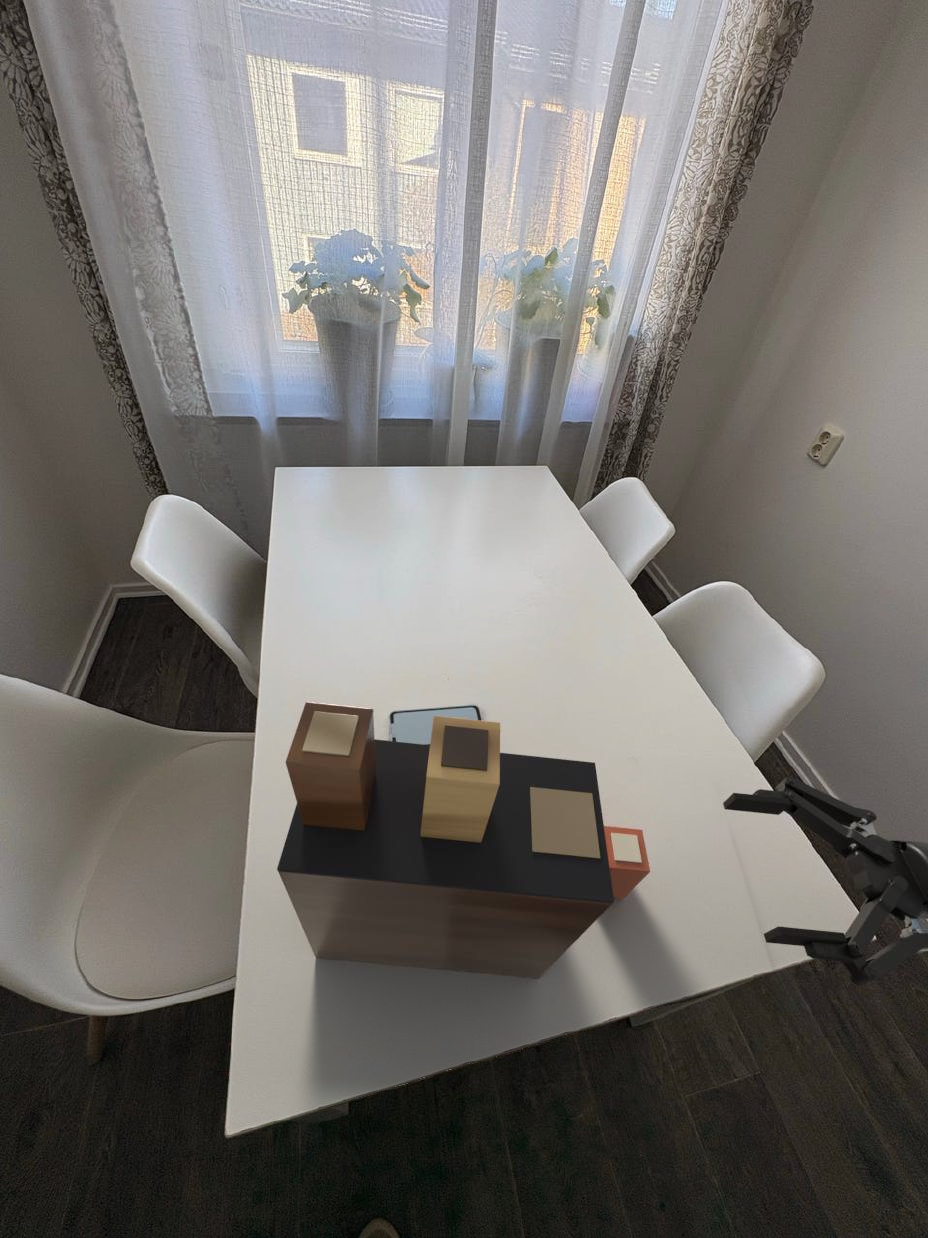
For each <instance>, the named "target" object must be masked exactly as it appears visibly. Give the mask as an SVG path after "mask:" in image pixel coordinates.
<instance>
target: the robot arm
mask: <svg viewBox="0 0 928 1238" xmlns="http://www.w3.org/2000/svg"><path fill="white" fill-rule="evenodd" d="M722 805H723V808H724V810H728V811H735V812H737V811H738V812H748V813H756V814H767V815H776V816H780V815H781V814H782V813H783V812H785V814H787V815H789V816H790V817H792V819H795V820H796V821H797V822H799V823H800V824H802V825H803V826H804V827H805V828H808V830H811V832H813V833H814V834H815V835H817V836H818V837H820V838H821V839H822V840H824V841H825V842H826V843H828V844H830V845H831V846H832V849H833V851H834V852H836V853H837V854H839V855H840V856H841V857H843V858H844V859H846V860H845V861H844V862H845V864H846V867H847V869H848V870H849V872H850V873H851V876H852V877H853V881H854V885H855V887H856V889H857V892H858V893H859V892H860V893H862V895H863V896H864V897H865V900H864V901H863V903H862V904H861V906H860V908H859V910H860V911H859V912H858V914H857V915H856V917H855V918H854V920H853V921H852V923H850V926H849V927H848V929H847V930H846V932H845V933H844V932H838V931H831V930H830V931H828V930H818V929H808V928H799V927H798V928H797V927H787V926H776V927H774V928H772V929H770V930H768V931H766V932H764V933H763V937H764V940H765V943H767V944H777V945H787V946H788V945H789V946H799V947H803V948H804V951H805V953H806V956H807V957H809V958H811V959H814V960H815V959H816V960H824V961H836V962H839V963H841V964H842V965H843V966H844V967H845V968H846V970H847V971H848V976H849V979H850V981H851V982H852V983H853V985H855V986H857V987H860V986H863V985H866V984H867V985H868V984H871V983H874V982H876V981H879V980H880V979H882V978H883V977H884V976H886V975H887V974H889V973H891V972H892V971H893V970H895V969H896V968H897V967H899V966H901V964H903V963H905V962H906V961H907V960H908V959H910V958H912V957H913V956H914V955H916V954H922V953H925V952H928V931H927V929H926V927H925V926H924V924H923V922H922V921H921V919H924V920H928V842H920V841H911V840H898V839H895V840H890V839H887V838H885V837H882V836H880V835H878V833H877V831H876V828H875V825H874V824H873V823H874V822H875V821H876V820H877V819H878V818H877V815H876V814H875V812H874V811H872V810H870V809H865V808H860V807H854V806H853V805H850V804H849V803H846V802H845V801H843V800H841V799H838V798H836V797H834V796H832V795H830V794H828V793H826V792H824V791H821V790H819V789H817V788H815V787H813V786H811V785H809V784H807V783H805V782H802V781H801V780H799V779H796V778H794V777H792V776H787V777H785V778H784V779H783V780H782V781H781V782H780V783H778V784H777V785H776V786H775V790H771V789H762V788H761V789H757V790H755V791H754V792H753V793H752V794H748V793H741V792H740V793H739V792H733V793H732V794H730V796H729V797H728V798H726V799H725V801H723V803H722ZM853 844H854V846H853V848H850V846H851V845H853ZM889 914H890V915H891V916H893V917H895V918H896V919H897V920H899V921H902V922H904V924H905V927H904V928H902V929H901V933H900V934H899V937H900V938H899V939H897V940H894V941H893V942H891V943H889V944H888V945H886V946H884V948H882V949H880V950H879V951H877V952H876V953H875V954H873V955H872V956H870V957H869V958H868V959H865V956H867V955H868V952H866V951H867V949H868V948H869V946H870V944H871V943H872V942H873V940H874V938H875V936H876V935H877V933H878V931H879V930H880V928H881V927H882V925H883V923H884V922H885V920H886V919H887V917H888V915H889Z"/></svg>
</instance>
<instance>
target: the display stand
mask: <svg viewBox="0 0 928 1238" xmlns="http://www.w3.org/2000/svg"><path fill="white" fill-rule="evenodd" d="M277 872H278V874H279V877H280V879H281V881H282V884H283V886H284V887H285V888H284V889H285V891H286V893H287V895H288V898H289V900H290V902H291V904H292V906H293V909H294V911H295V913H296V916H297V918H298V921H299V923H300V925H301V928H302V930H303V932H304V934H305V937H306V939H307V941H308V943H309V946H310V948H311V951H312V953H313V956H314V957H315V959H321V960H331V961H343V962H355V963H366V964H376V965H384V966H385V965H386V966H387V965H388V966H395V967H396V966H397V967H406V968H407V967H409V968H418V969H429V970H439V971H440V970H441V971H451V972H452V971H453V972H463V973H473V974H485V975H494V976H495V975H496V976H504V977H505V976H506V977H515V978H516V977H517V978H528V979H536V980H537V979H538V980H539V979H540V978H541V977H542V976H544V974H546V972H547V971H548V970H549V969H550V968H551V967H552V966H553V965H554V964H555V963H556V962H557V961H558V960H559V959H560V958H561V957H562V956H563V955H564V954H565V953H566V952H567V951H568V950H569V949H570V948H571V946H573V944H575V942H576V941H578V940H579V938H580V937H581V936H582V935H584V934H585V932H586V931H587V930H589V928H591V926H592V925H593V924H594V923H595V922H596V921H597V920H598V919H599V918H600V917H601V916H602V915H603V914H604V913H605V912H606V911H607V910H608V909H609V908H610V907H611V906H612V905H613V904H610V903H600V902H590V901H580V900H569V899H559V898H549V897H539V896H528V895H518V894H508V893H498V892H487V891H477V890H467V889H457V888H446V887H436V886H426V885H416V884H405V883H395V882H385V881H374V880H364V879H354V878H344V877H333V876H323V875H313V874H303V873H292V872H282V871H278V870H277Z"/></svg>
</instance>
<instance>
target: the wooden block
mask: <svg viewBox="0 0 928 1238" xmlns="http://www.w3.org/2000/svg"><path fill="white" fill-rule="evenodd" d="M374 719H375V718H374V709H373V708H368V707H367V708H366V707H360V706H349V705H340V704H330V703H322V702H311V701H305V703H304V707H303V710H302V712H301V715H300V718H299V720H298V724H297V727H296V730H295V733H294V735H293V738H292V741H291V745H290V748H289V750H288V754H287V756H286V759H285V765H286V769H287V771H288V773H287V774H288V776H289V779H290V783H291V786H292V787H291V788H292V790H293V793H294V794H293V795H294V797H295V801H296V805H297V804H298V808H299V811H300V815H301V818H302V822H303V825H311V826H321V827H331V828H341V829H351V830H361V831H365V828H366V823H367V817H368V812H369V807H370V802H371V797H372V792H373V787H374V782H375V777H376V766H375V742H374V739H375V722H374V721H375V720H374Z"/></svg>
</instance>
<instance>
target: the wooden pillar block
mask: <svg viewBox="0 0 928 1238" xmlns="http://www.w3.org/2000/svg"><path fill="white" fill-rule="evenodd" d="M500 753H501V722H497V721H490V720H483V721H481V720H471V719H462V718H453V717H444V716H434V717H433V726H432V734H431V742H430V751H429V759H428V767H427V776H426V785H425V795H424V805H423V815H422V825H421V834H420V836H421V837H430V838H440V839H450V840H460V841H470V842H480V843H481V842H482V838H483V835H484V832H485V829H486V826H487V823H488V819H489V816H490V813H491V810H492V807H493V804H494V801H495V797H496V794H497V791H498V788H499V785H500Z"/></svg>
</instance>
